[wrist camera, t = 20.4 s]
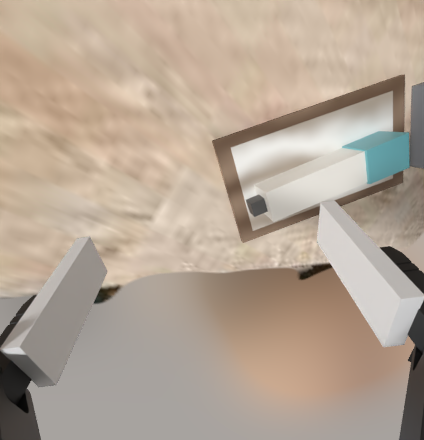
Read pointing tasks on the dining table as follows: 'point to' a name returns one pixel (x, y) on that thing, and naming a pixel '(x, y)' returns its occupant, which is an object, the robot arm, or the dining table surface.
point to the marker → (331, 175)
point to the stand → (417, 126)
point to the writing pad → (306, 149)
